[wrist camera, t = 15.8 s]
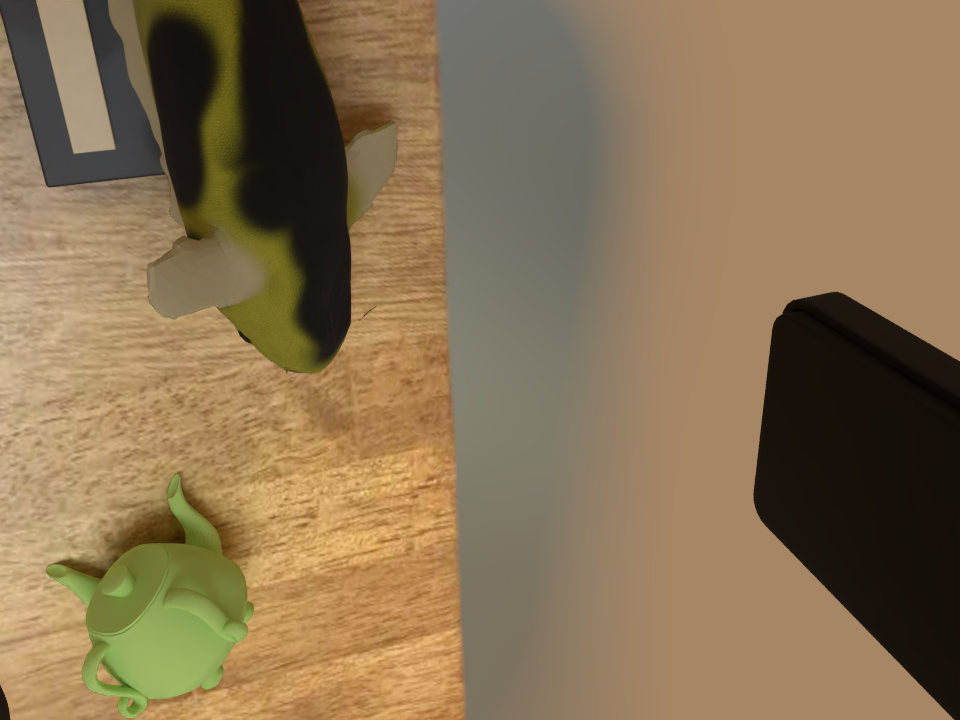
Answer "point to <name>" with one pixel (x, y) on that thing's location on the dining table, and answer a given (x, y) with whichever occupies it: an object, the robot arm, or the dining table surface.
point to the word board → (78, 92)
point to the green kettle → (162, 613)
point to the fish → (252, 170)
